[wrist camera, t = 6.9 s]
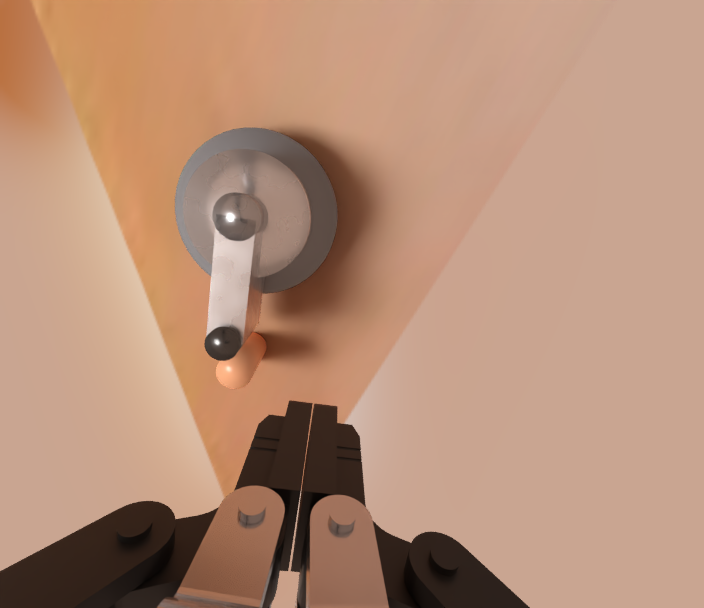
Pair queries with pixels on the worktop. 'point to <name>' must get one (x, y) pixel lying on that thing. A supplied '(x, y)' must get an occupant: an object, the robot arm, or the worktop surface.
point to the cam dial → (243, 236)
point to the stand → (309, 259)
